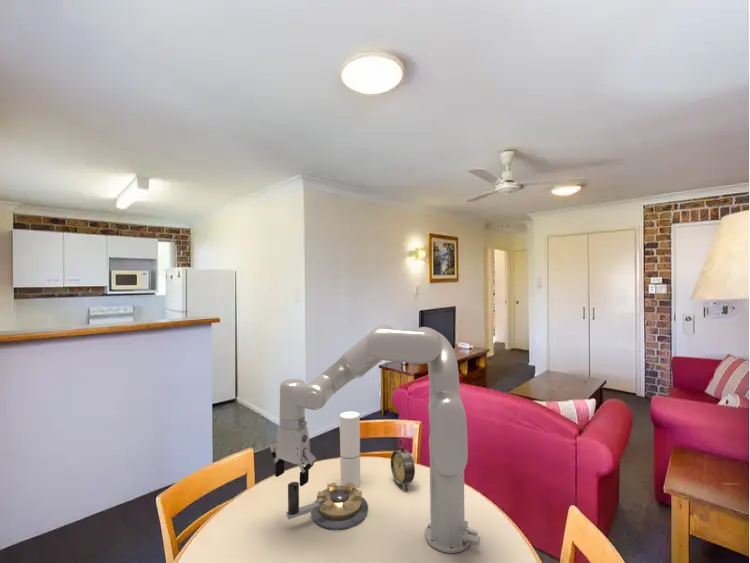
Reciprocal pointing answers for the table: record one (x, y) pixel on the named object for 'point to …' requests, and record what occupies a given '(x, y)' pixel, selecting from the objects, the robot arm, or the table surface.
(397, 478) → the alarm clock
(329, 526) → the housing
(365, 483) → the table surface
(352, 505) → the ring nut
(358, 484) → the cylindrical container
